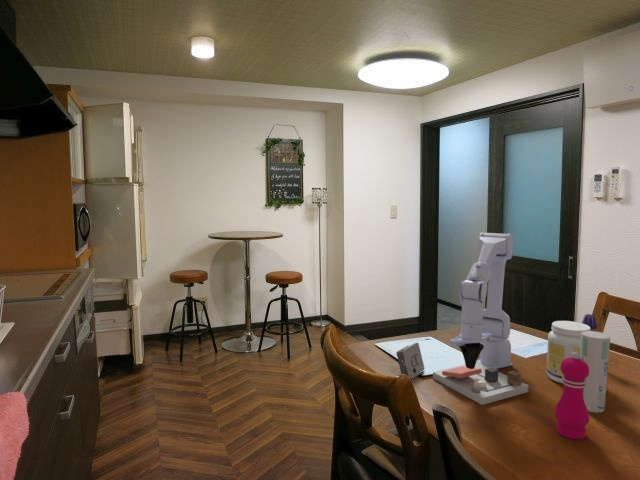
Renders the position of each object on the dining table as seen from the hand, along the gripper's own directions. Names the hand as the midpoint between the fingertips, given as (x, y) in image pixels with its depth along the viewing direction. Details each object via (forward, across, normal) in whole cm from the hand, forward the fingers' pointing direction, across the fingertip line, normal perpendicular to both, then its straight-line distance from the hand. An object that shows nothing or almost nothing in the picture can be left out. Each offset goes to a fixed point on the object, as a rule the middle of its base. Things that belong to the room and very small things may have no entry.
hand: (470, 367), depth 133 cm
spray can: (+7, -21, +23) cm, 32 cm away
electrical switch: (+7, +8, -17) cm, 20 cm away
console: (+7, -5, -1) cm, 8 cm away
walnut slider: (+5, -11, +6) cm, 14 cm away
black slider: (+5, -7, +2) cm, 9 cm away
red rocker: (+3, 0, -3) cm, 4 cm away
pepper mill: (+7, -4, +29) cm, 30 cm away
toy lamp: (+7, -50, +3) cm, 51 cm away
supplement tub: (+7, -33, +8) cm, 35 cm away
